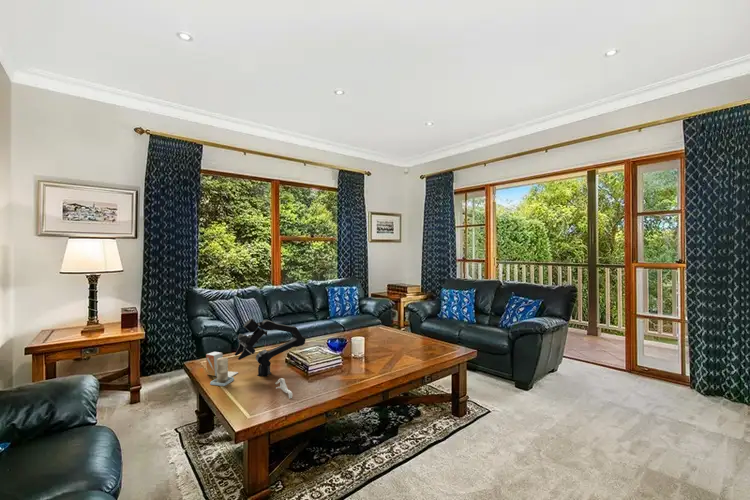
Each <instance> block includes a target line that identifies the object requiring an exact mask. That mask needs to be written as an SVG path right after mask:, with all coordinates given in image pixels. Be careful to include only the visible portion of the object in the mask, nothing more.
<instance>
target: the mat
mask: <svg viewBox="0 0 750 500" xmlns="http://www.w3.org/2000/svg"><path fill="white" fill-rule="evenodd" d="M238 374H239V371H229V370H228V377H233V378H234V376H235V375H238Z"/></svg>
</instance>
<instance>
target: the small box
mask: <svg viewBox="0 0 750 500" xmlns="http://www.w3.org/2000/svg"><path fill="white" fill-rule="evenodd" d="M222 357H223V352H219V351H212V352H209V353H206V354H205V361H206V374H207V375H209V376H212V377H213V376H214V377H217V359H218V358H222Z"/></svg>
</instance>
